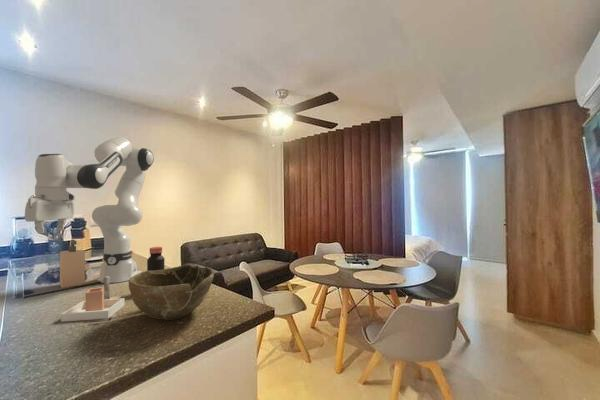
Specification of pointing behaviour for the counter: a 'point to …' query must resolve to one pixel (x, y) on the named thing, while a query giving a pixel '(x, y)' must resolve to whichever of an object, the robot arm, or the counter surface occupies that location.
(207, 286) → the bowl
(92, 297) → the sleeve
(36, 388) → the counter surface
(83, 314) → the tray
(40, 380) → the counter surface
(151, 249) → the bottle
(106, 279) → the peg stand
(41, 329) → the counter surface
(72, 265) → the tan rectangular block
